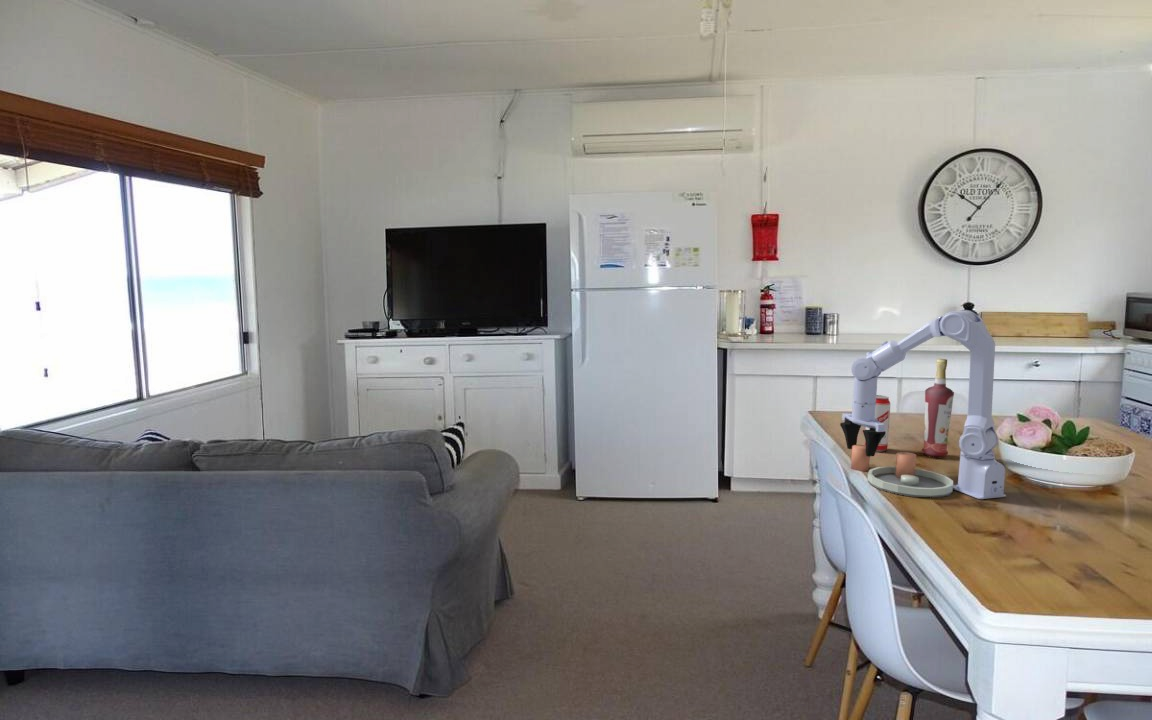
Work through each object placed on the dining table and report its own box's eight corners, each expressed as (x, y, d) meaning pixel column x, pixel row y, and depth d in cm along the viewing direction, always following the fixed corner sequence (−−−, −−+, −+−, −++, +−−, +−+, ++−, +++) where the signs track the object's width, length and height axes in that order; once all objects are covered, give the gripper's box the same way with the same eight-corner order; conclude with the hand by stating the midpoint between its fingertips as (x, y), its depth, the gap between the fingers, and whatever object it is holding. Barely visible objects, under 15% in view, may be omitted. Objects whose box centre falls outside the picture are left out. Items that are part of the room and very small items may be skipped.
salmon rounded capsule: (918, 479, 182) (920, 456, 181) (903, 480, 181) (905, 457, 180) (906, 474, 186) (907, 451, 185) (891, 475, 185) (893, 452, 184)
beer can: (889, 453, 209) (893, 399, 207) (866, 451, 211) (870, 398, 209) (884, 447, 215) (888, 395, 213) (862, 446, 217) (866, 394, 215)
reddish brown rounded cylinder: (872, 470, 191) (874, 448, 190) (858, 471, 190) (859, 449, 189) (861, 465, 196) (862, 444, 195) (847, 467, 194) (848, 445, 193)
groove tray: (970, 494, 172) (971, 485, 171) (905, 500, 166) (905, 491, 166) (912, 472, 190) (913, 464, 190) (851, 477, 184) (852, 469, 184)
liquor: (941, 460, 202) (949, 361, 198) (915, 455, 207) (923, 358, 204) (953, 456, 206) (961, 359, 203) (927, 451, 212) (934, 357, 208)
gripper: (896, 407, 185) (892, 458, 186) (858, 396, 198) (855, 444, 200) (873, 408, 183) (869, 460, 184) (837, 397, 196) (833, 446, 198)
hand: (860, 452), depth 192 cm, fingers open, 7 cm apart
